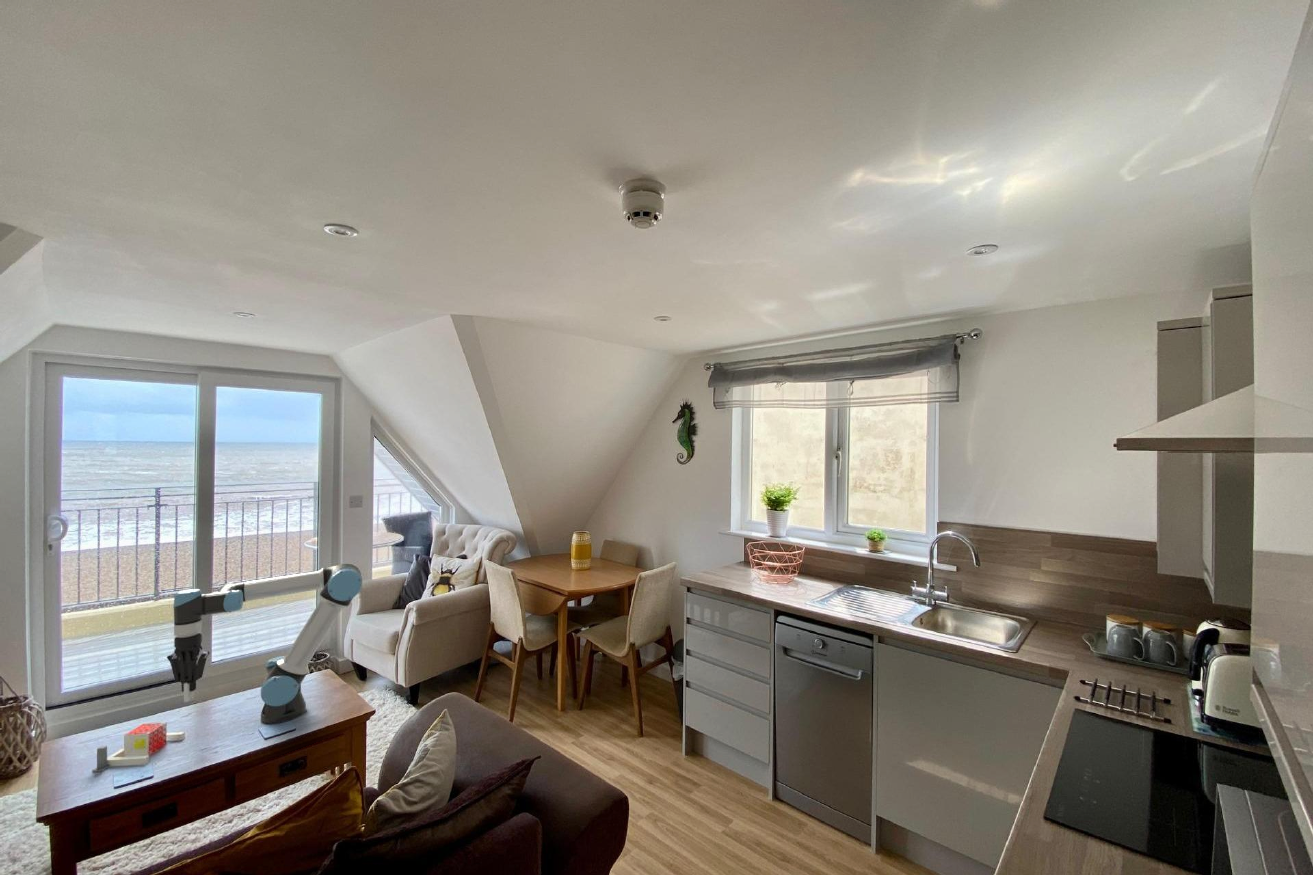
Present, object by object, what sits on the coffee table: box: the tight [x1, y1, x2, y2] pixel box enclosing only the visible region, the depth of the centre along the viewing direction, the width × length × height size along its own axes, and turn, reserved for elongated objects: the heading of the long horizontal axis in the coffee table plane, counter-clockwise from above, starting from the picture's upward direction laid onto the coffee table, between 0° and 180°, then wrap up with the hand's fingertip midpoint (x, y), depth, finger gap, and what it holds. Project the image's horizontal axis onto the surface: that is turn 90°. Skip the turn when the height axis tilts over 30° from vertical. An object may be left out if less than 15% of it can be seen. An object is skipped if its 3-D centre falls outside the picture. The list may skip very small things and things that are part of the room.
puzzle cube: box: [123, 722, 168, 757], centre depth 194 cm, size 8×8×8 cm
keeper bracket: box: [91, 731, 186, 773], centre depth 192 cm, size 14×20×7 cm
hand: (189, 699), depth 195 cm, fingers closed
